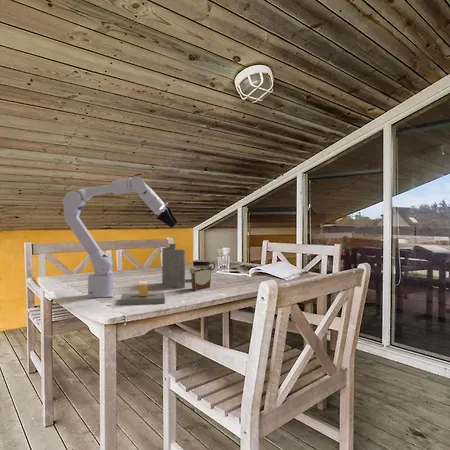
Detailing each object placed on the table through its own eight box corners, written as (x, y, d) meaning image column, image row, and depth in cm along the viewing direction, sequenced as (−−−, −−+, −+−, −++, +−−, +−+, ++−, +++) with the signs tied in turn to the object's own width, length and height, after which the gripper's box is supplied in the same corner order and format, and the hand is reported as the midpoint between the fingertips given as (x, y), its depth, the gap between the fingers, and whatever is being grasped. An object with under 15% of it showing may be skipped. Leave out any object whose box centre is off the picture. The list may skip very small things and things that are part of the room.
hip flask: (186, 287, 161) (186, 244, 161) (179, 288, 158) (179, 244, 158) (166, 282, 173) (166, 242, 172) (159, 283, 170) (159, 242, 169)
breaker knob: (139, 296, 132) (139, 283, 131) (139, 293, 136) (139, 281, 136) (147, 296, 132) (147, 283, 132) (147, 293, 137) (147, 281, 137)
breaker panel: (120, 305, 128) (120, 299, 128) (122, 298, 138) (122, 293, 138) (164, 303, 131) (164, 297, 131) (163, 297, 141) (163, 292, 141)
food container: (202, 285, 166) (202, 264, 165) (212, 287, 162) (212, 266, 162) (183, 289, 156) (183, 267, 156) (193, 291, 152) (193, 268, 152)
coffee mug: (192, 281, 177) (192, 261, 177) (193, 278, 186) (193, 259, 186) (215, 281, 178) (215, 261, 177) (215, 278, 186) (215, 259, 186)
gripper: (156, 195, 137) (180, 220, 139) (162, 193, 152) (183, 216, 153) (143, 206, 138) (167, 232, 139) (150, 204, 152) (171, 227, 154)
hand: (174, 225), depth 146 cm, fingers open, 7 cm apart
